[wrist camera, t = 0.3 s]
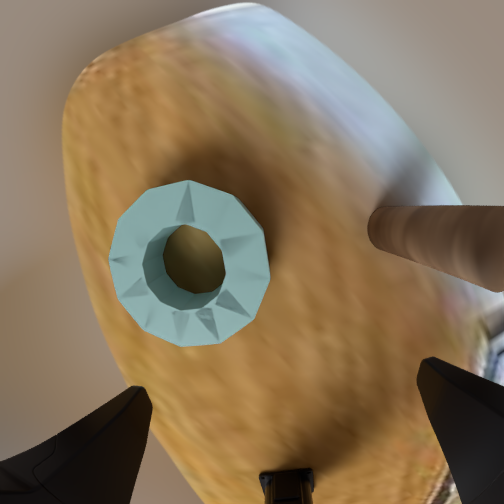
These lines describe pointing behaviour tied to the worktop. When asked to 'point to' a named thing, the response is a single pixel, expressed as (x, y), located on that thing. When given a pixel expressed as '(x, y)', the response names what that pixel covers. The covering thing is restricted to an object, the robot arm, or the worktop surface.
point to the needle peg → (446, 239)
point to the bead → (161, 285)
